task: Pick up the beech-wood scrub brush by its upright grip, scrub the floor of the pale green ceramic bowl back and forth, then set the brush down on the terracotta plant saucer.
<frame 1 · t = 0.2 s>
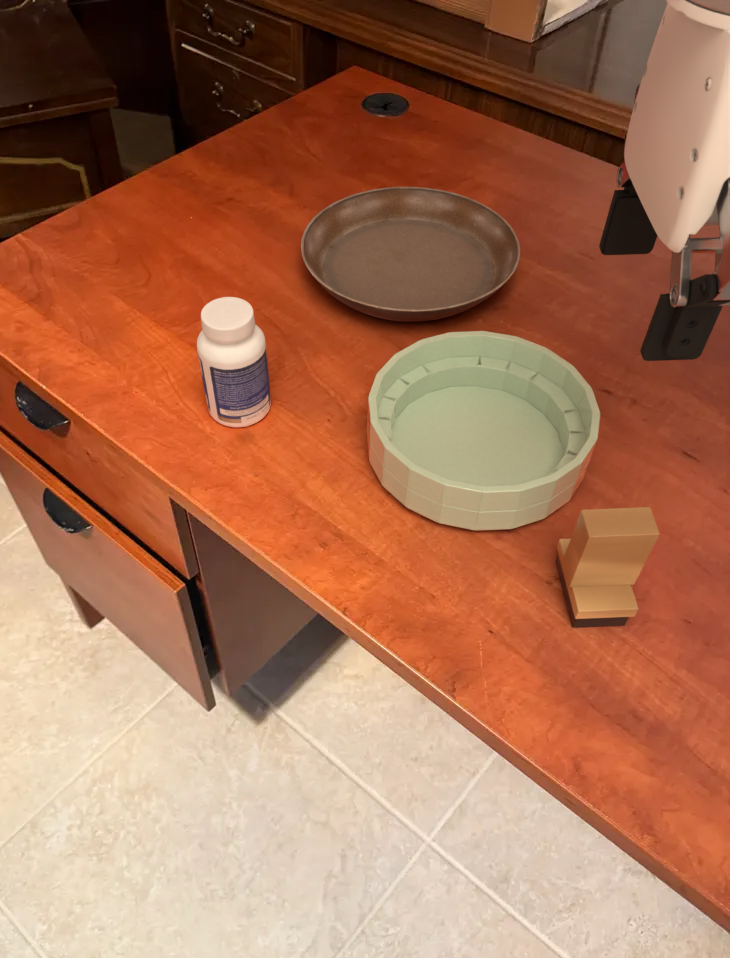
hand: (645, 301, 48), 18 cm above the table, tool pointing down, fingers open, 9 cm apart
bowl: (474, 450, 66), on the table
plant saucer: (407, 273, 81), on the table
pill bottle: (240, 408, 70), on the table
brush: (589, 592, 58), on the table
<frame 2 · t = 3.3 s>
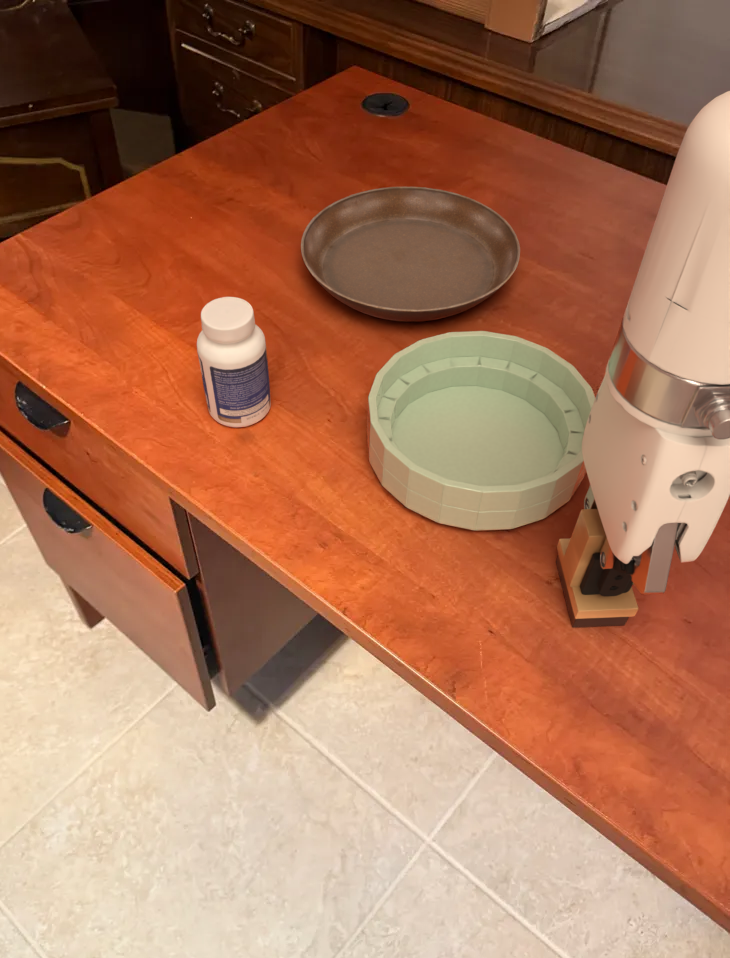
hand: (598, 570, 56), 3 cm above the table, tool pointing down, fingers closed on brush, 2 cm apart
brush: (589, 592, 58), on the table, touching gripper
everything else where it was.
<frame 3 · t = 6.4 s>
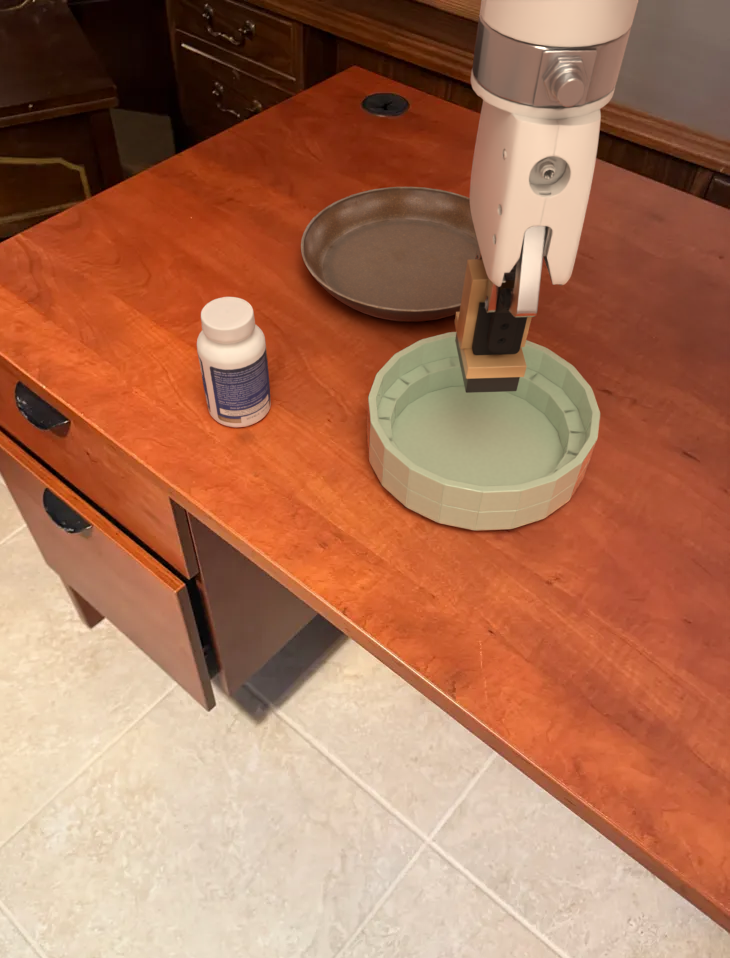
hand: (491, 336, 57), 11 cm above the table, tool pointing down, fingers closed on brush
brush: (484, 365, 59), point 9 cm above the table, touching gripper
everything else where it was.
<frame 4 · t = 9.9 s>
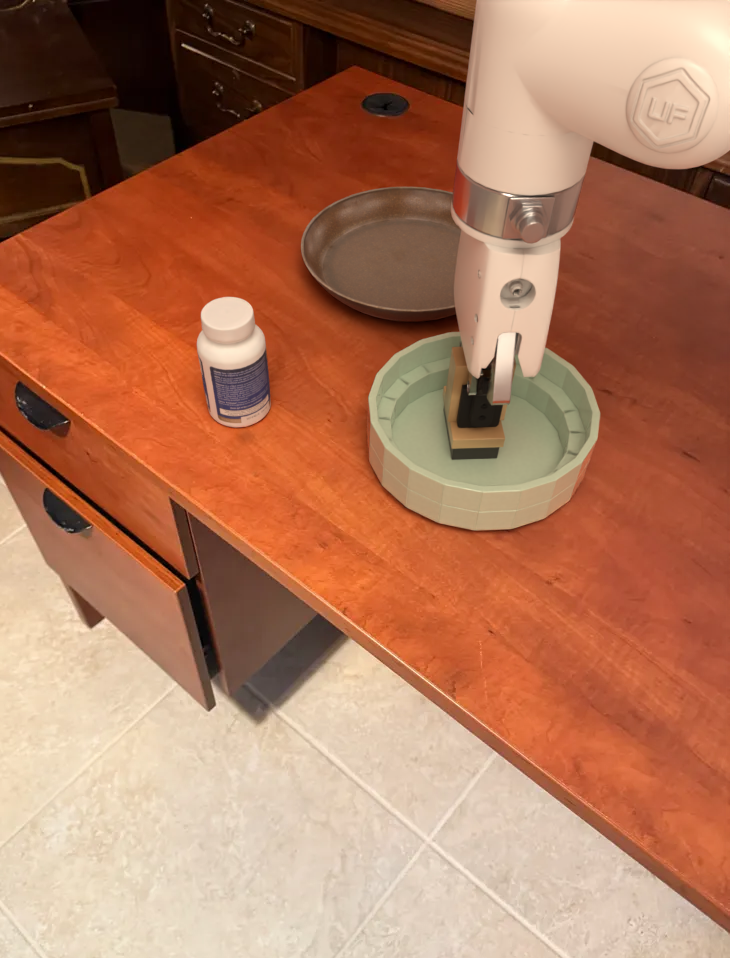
hand: (474, 410, 64), 3 cm above the table, tool pointing down, fingers closed on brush, 2 cm apart
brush: (469, 433, 67), point 1 cm above the table, touching gripper
everything else where it was.
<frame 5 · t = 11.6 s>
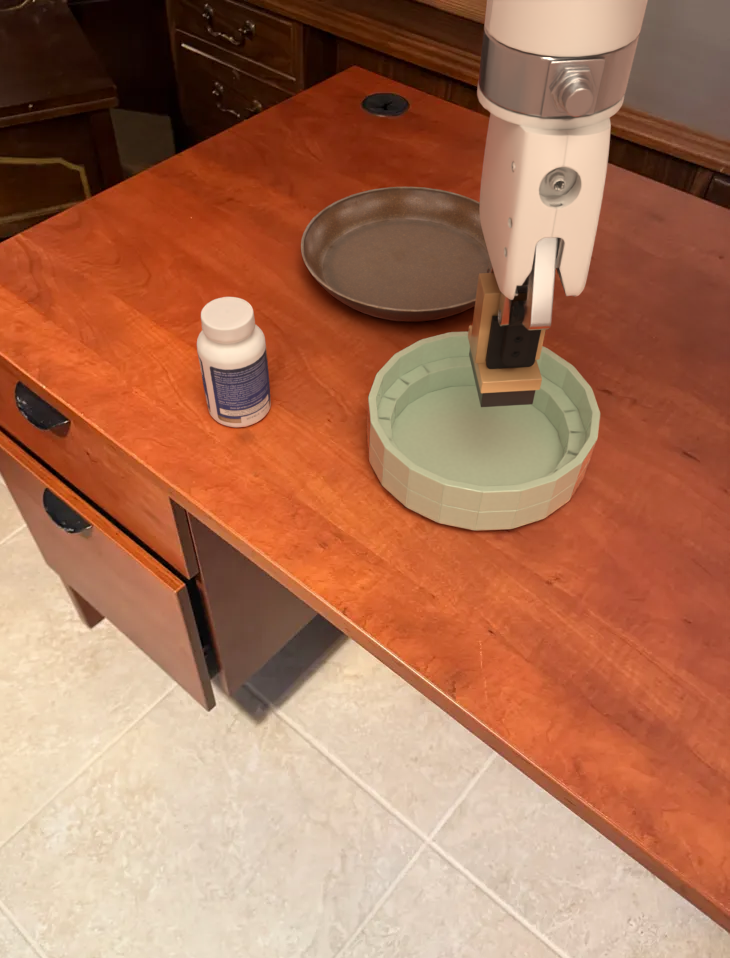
hand: (505, 349, 56), 11 cm above the table, tool pointing down, fingers closed on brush
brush: (499, 379, 59), point 9 cm above the table, touching gripper
everything else where it was.
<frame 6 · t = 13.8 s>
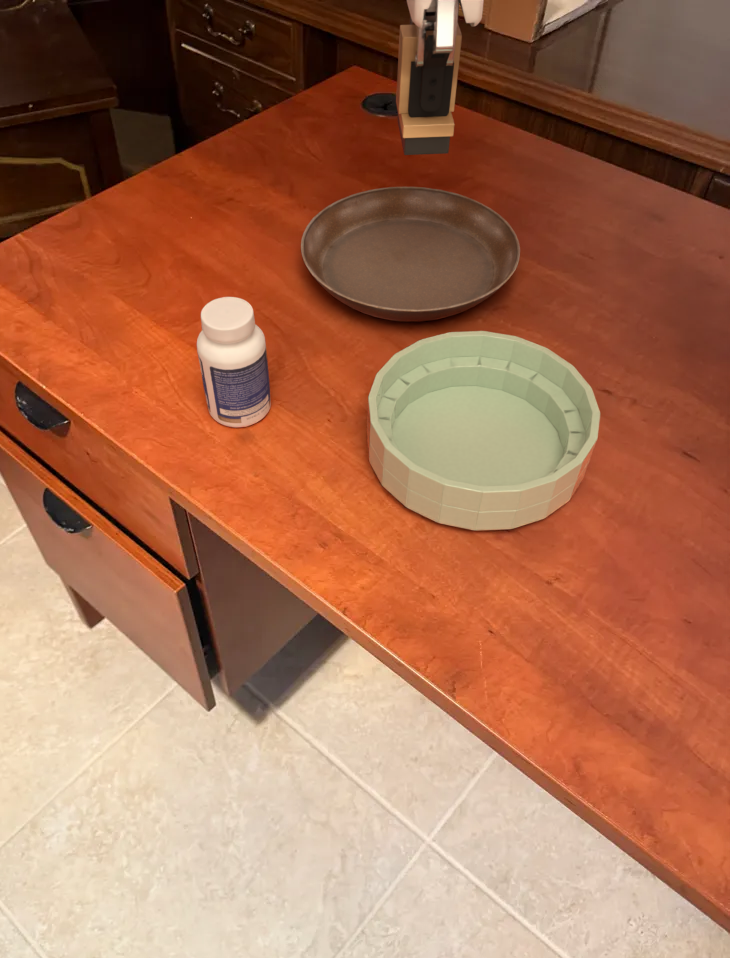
hand: (426, 104, 66), 17 cm above the table, tool pointing down, fingers closed on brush
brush: (422, 137, 68), point 14 cm above the table, touching gripper
everything else where it was.
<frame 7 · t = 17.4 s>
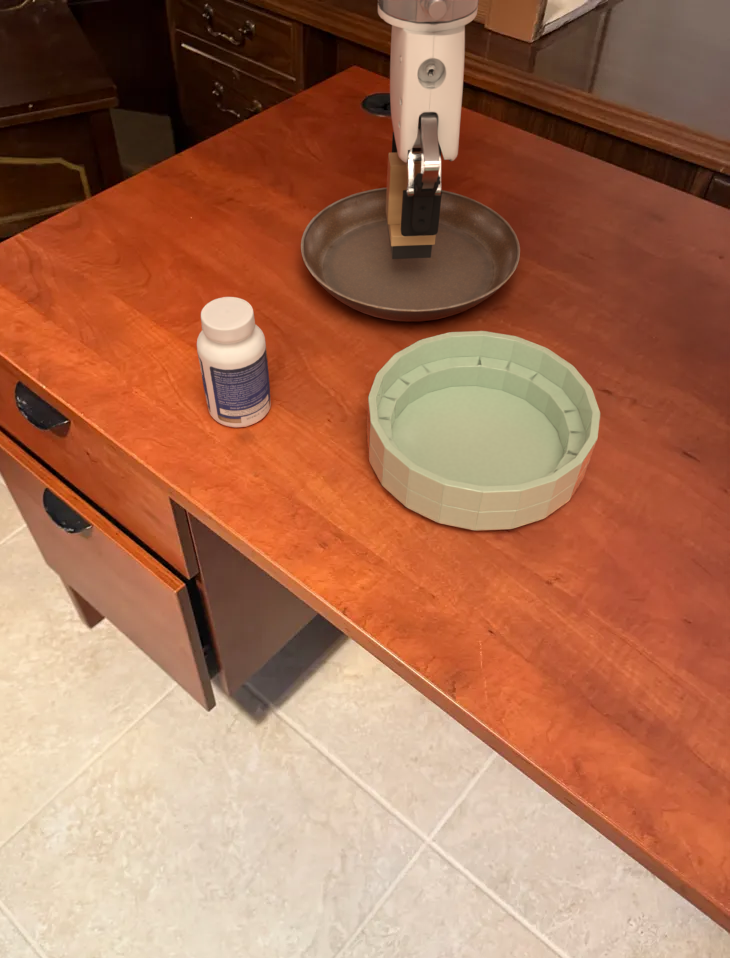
hand: (413, 203, 75), 7 cm above the table, tool pointing down, fingers open, 9 cm apart
plant saucer: (407, 273, 81), on the table, touching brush
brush: (408, 241, 78), point 3 cm above the table, touching plant saucer
everything else where it was.
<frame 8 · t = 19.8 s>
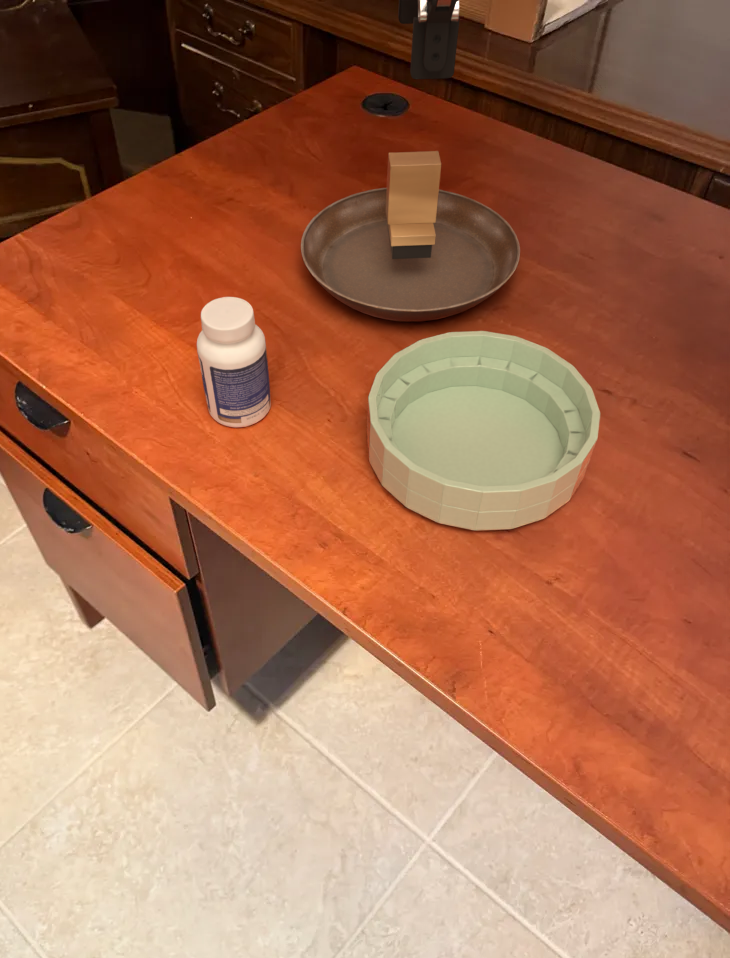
hand: (424, 48, 64), 20 cm above the table, tool pointing down, fingers open, 9 cm apart
nothing on the table moved.
at the end: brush inside the target area in the plant saucer (0.1 cm from its centre), point 3.5 cm above the plant saucer's base; the gripper is holding nothing; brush tilted 0° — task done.
